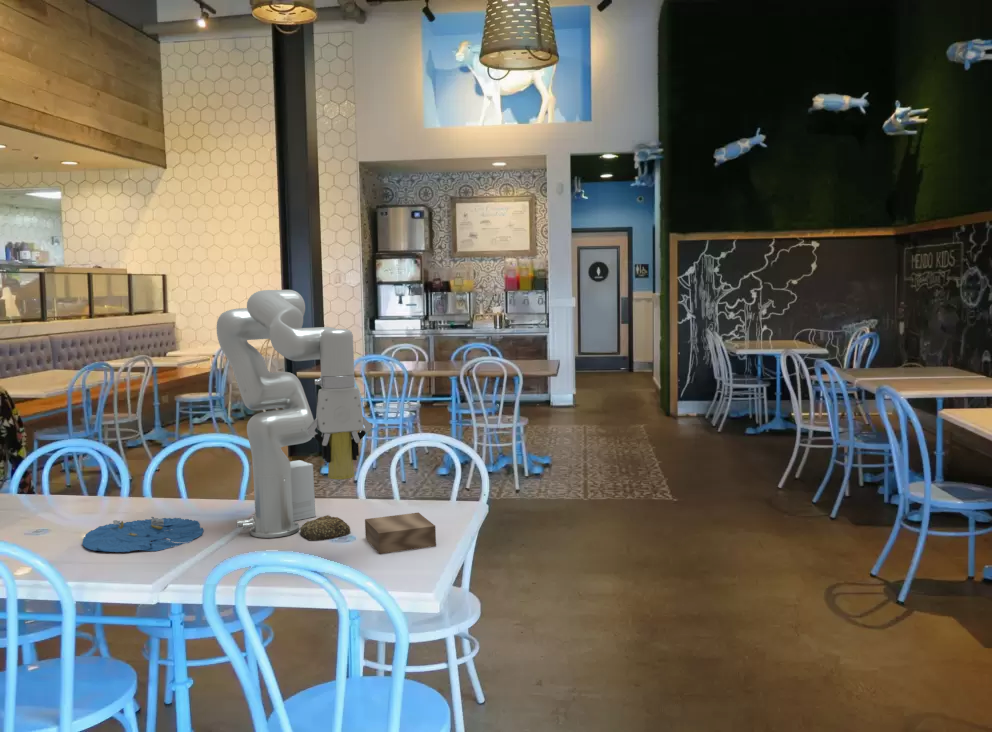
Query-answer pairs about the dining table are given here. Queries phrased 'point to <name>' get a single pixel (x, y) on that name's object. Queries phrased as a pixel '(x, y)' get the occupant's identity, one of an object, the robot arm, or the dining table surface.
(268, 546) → the dining table surface
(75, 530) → the dining table surface
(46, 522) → the dining table surface
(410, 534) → the block
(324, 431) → the robot arm
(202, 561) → the dining table surface
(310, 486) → the supplement box
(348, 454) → the vase
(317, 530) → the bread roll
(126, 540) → the decorative plate
